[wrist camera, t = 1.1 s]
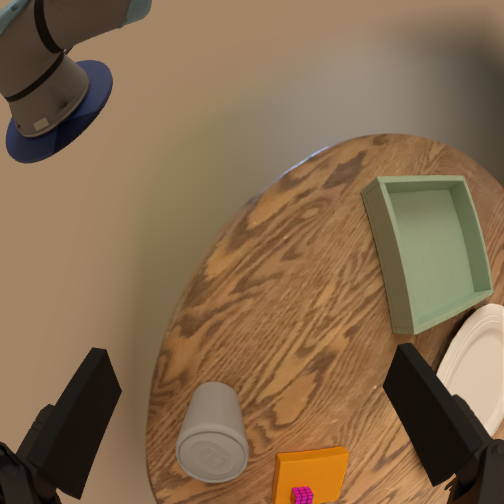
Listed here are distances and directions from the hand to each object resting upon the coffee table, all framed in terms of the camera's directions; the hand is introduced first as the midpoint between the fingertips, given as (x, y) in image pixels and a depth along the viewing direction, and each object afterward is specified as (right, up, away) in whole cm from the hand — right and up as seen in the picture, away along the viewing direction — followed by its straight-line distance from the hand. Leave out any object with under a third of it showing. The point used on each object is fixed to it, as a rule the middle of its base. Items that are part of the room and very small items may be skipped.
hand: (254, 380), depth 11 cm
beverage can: (-4, -10, +14) cm, 18 cm away
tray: (+23, +6, +20) cm, 31 cm away
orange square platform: (+6, -21, +13) cm, 26 cm away
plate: (+36, -17, +17) cm, 43 cm away
